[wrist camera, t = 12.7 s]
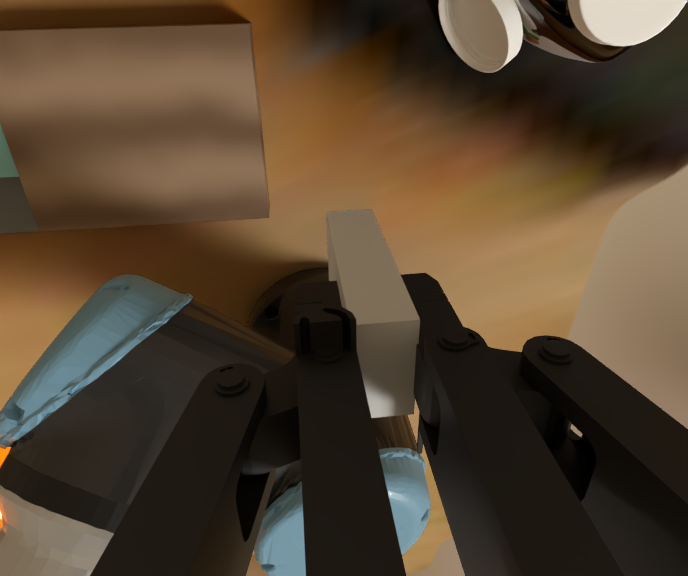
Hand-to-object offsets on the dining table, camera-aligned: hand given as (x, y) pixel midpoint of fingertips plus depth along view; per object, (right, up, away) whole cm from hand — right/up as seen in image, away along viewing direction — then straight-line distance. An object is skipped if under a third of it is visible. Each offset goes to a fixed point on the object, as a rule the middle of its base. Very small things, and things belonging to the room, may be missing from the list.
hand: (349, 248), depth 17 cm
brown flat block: (-16, +11, +22) cm, 29 cm away
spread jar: (+13, +21, +21) cm, 32 cm away
